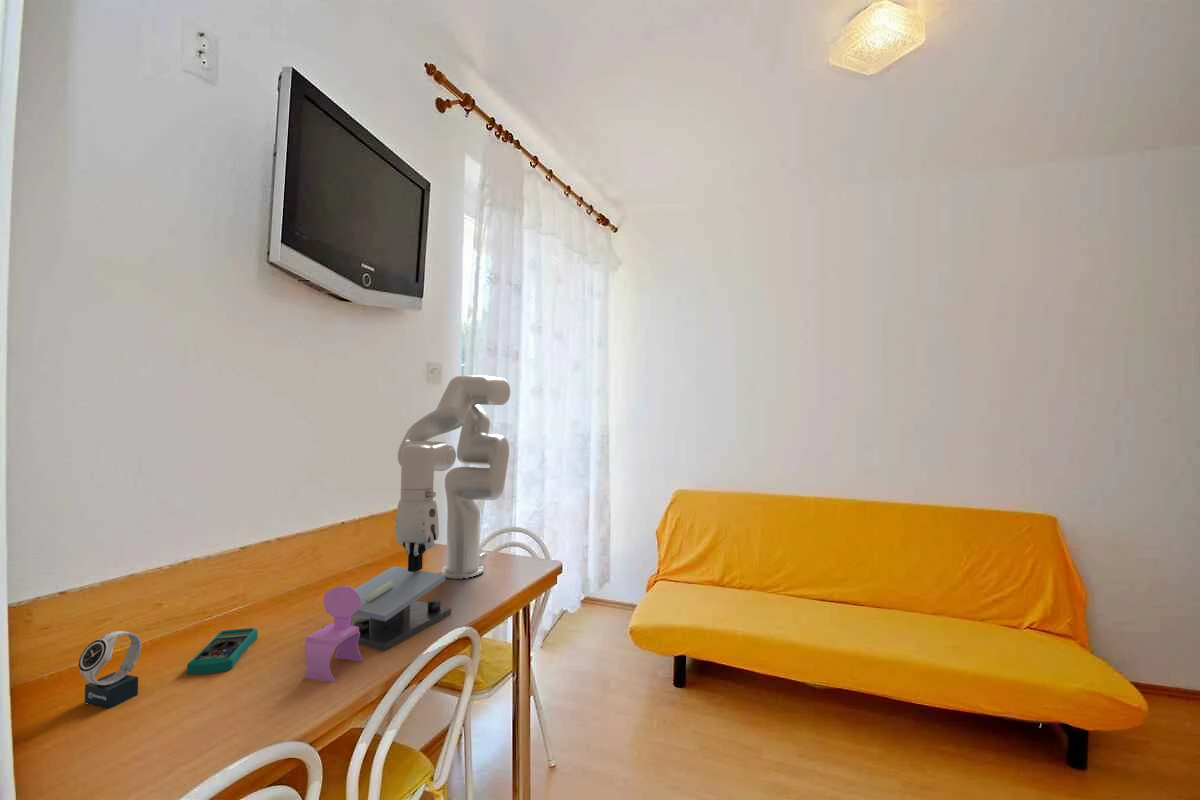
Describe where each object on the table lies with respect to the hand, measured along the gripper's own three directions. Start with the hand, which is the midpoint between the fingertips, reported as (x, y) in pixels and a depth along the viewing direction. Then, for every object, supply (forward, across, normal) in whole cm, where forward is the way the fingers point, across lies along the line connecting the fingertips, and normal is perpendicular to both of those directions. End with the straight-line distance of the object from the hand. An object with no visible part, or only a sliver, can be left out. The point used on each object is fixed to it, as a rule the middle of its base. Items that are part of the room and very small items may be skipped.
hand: (415, 570), depth 129 cm
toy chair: (+11, -6, +28) cm, 30 cm away
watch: (+11, +19, +51) cm, 55 cm away
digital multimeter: (+11, +18, +33) cm, 39 cm away
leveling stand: (+10, 0, +8) cm, 13 cm away
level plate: (+3, 0, +8) cm, 9 cm away
